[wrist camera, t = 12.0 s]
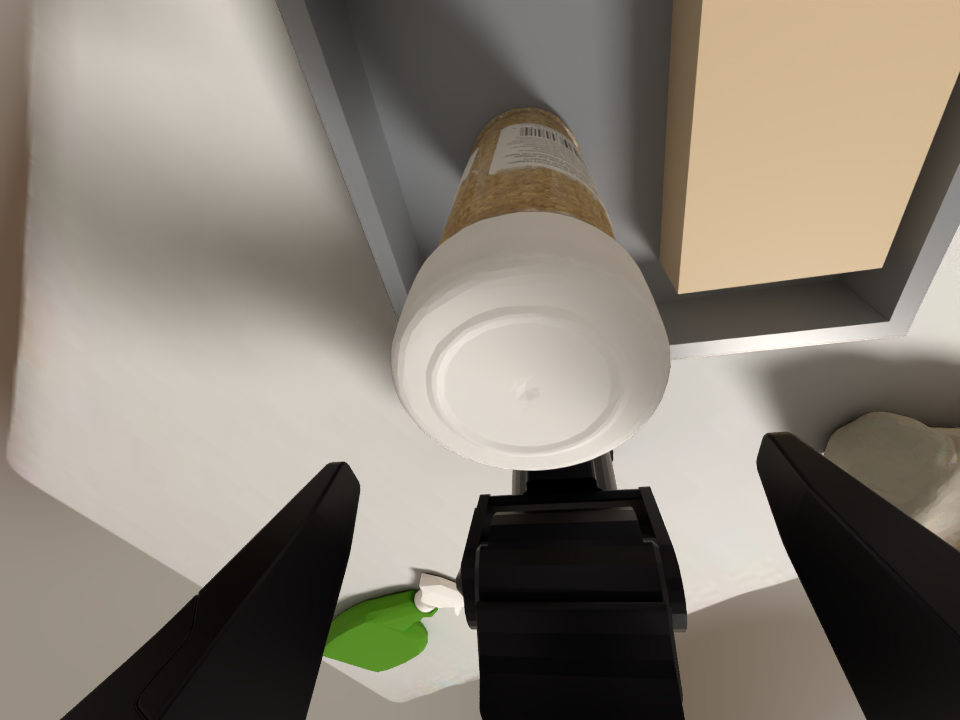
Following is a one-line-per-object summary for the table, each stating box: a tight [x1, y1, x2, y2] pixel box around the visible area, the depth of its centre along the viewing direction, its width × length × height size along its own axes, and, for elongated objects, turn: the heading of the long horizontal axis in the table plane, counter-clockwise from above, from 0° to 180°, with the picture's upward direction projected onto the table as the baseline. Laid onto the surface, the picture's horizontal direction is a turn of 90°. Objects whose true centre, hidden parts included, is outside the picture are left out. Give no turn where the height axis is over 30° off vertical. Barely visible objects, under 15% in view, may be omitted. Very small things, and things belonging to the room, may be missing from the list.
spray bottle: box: [323, 573, 464, 672], centre depth 48 cm, size 3×11×25 cm
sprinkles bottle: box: [391, 107, 671, 471], centre depth 12 cm, size 5×5×13 cm
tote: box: [276, 0, 960, 360], centre depth 15 cm, size 16×20×4 cm
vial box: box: [659, 0, 960, 294], centre depth 14 cm, size 10×7×3 cm
